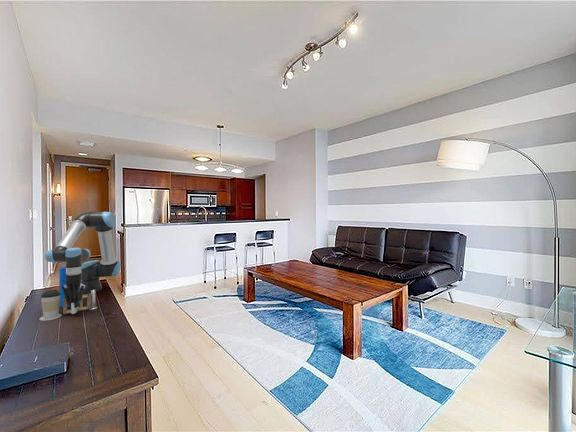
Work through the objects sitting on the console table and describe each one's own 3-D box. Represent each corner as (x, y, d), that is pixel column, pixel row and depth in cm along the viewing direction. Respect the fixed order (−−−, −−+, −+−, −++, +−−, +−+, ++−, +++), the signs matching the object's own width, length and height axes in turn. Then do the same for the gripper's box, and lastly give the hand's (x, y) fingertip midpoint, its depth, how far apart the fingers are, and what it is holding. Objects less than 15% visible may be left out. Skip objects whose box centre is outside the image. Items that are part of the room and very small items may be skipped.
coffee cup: (49, 320, 163) (49, 293, 163) (36, 318, 165) (36, 292, 164) (64, 314, 172) (64, 289, 171) (52, 313, 173) (52, 288, 173)
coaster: (48, 314, 173) (48, 313, 173) (65, 314, 173) (65, 313, 173) (34, 320, 163) (34, 320, 163) (52, 320, 163) (52, 320, 163)
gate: (89, 307, 183) (89, 293, 182) (90, 307, 182) (90, 293, 182) (63, 313, 171) (63, 298, 171) (63, 314, 171) (63, 299, 170)
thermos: (83, 302, 195) (83, 266, 195) (70, 307, 185) (70, 269, 184) (69, 301, 197) (69, 265, 196) (55, 307, 186) (55, 268, 185)
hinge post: (91, 307, 186) (91, 289, 185) (98, 307, 186) (98, 289, 186) (87, 309, 181) (87, 291, 181) (94, 309, 181) (94, 291, 181)
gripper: (57, 275, 167) (58, 315, 167) (80, 275, 168) (81, 315, 168) (67, 272, 175) (67, 311, 175) (88, 272, 175) (89, 310, 176)
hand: (74, 313), depth 171 cm, fingers closed
